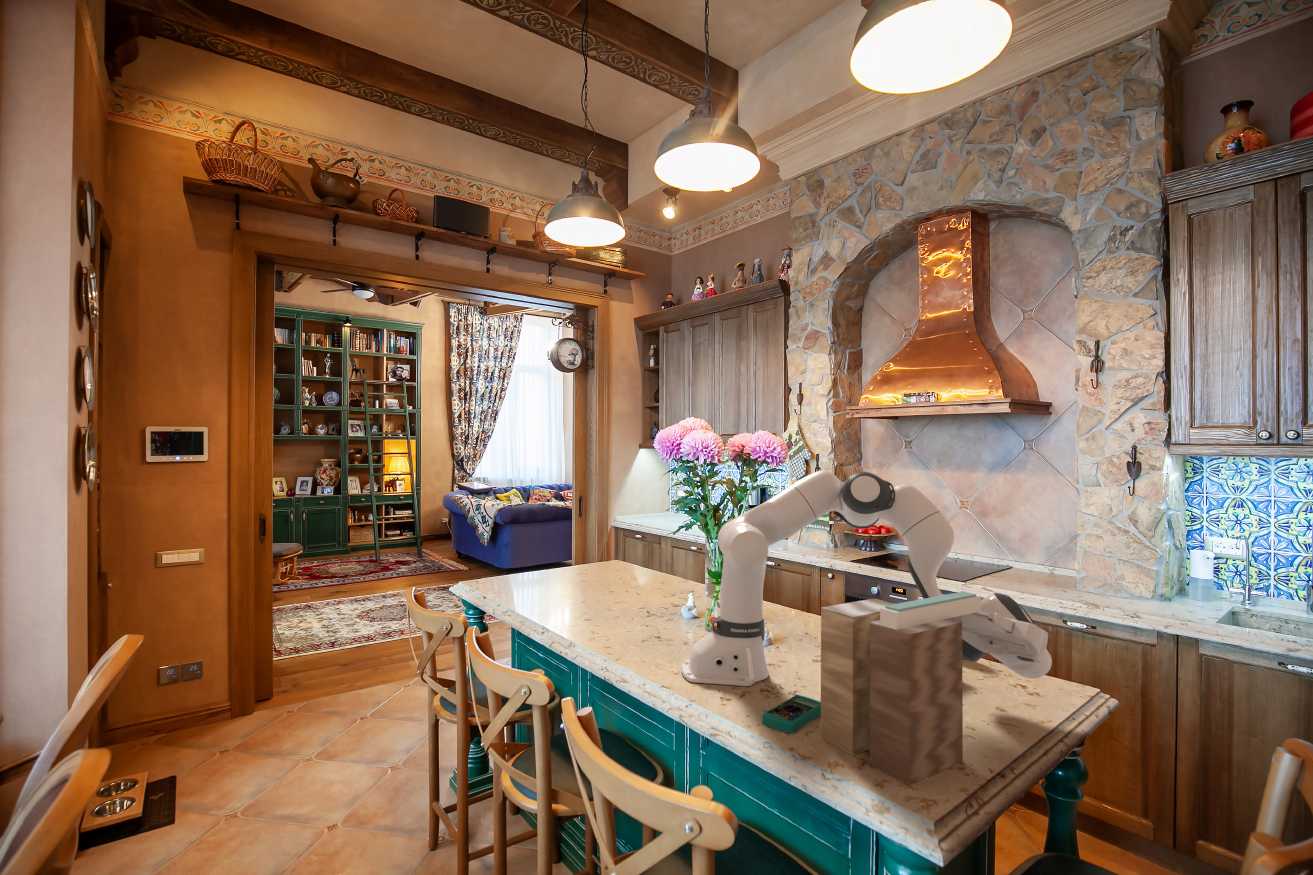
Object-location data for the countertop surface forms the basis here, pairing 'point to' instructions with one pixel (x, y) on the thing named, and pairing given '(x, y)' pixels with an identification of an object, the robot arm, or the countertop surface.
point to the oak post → (847, 673)
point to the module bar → (929, 610)
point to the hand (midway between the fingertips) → (968, 610)
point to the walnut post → (916, 699)
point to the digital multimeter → (792, 714)
